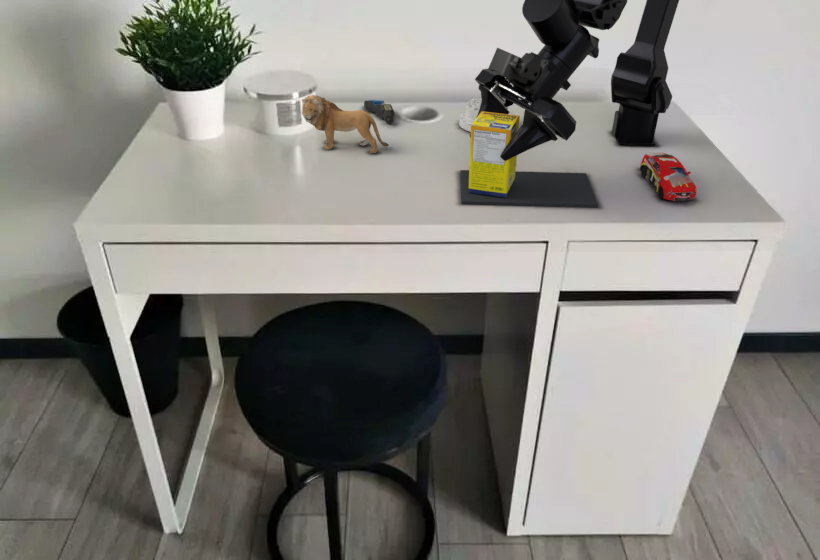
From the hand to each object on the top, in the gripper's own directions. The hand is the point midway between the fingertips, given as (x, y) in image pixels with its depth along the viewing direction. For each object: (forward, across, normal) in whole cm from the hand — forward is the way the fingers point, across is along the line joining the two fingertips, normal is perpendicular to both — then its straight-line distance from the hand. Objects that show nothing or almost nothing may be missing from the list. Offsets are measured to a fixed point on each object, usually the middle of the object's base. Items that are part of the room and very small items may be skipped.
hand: (486, 148), depth 104 cm
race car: (-14, +11, +24) cm, 30 cm away
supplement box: (+4, 0, +6) cm, 7 cm away
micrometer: (+5, -37, +5) cm, 38 cm away
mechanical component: (-6, -24, +16) cm, 29 cm away
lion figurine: (+14, -26, -3) cm, 29 cm away
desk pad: (0, +2, +10) cm, 10 cm away
